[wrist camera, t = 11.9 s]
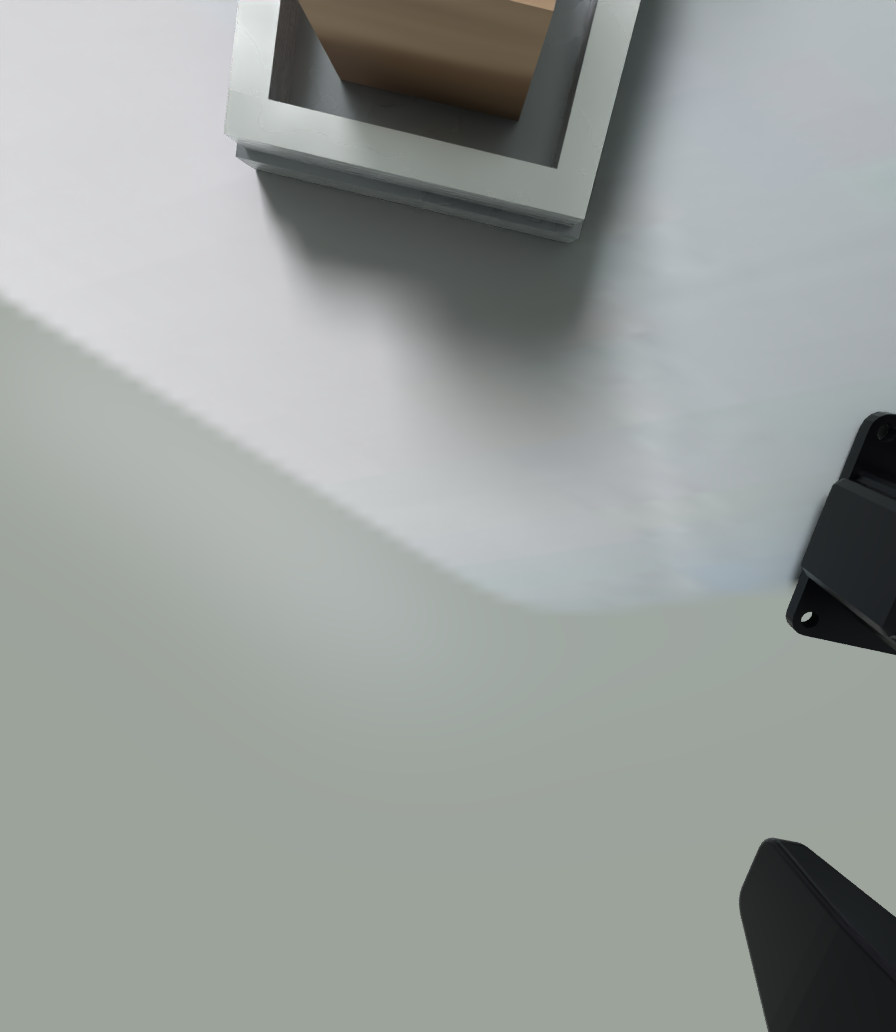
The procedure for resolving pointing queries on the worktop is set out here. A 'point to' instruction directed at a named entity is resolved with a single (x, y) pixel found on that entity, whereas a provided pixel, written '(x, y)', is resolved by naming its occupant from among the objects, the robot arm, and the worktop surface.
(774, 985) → the robot arm
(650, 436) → the worktop surface
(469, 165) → the grey base plate
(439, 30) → the tan wooden block
